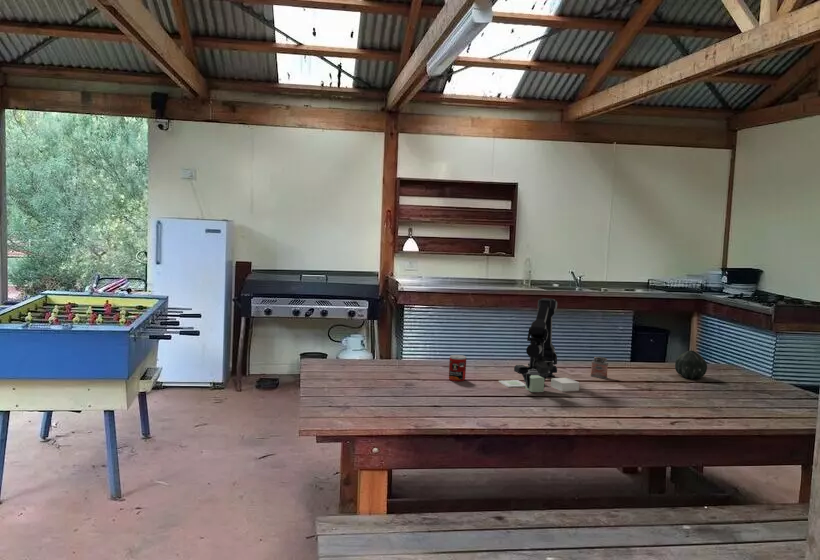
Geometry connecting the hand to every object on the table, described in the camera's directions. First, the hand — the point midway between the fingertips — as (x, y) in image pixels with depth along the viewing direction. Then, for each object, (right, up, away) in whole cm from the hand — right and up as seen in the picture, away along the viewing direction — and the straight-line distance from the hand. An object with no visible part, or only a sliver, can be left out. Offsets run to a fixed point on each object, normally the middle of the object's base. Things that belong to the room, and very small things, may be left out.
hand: (534, 387), depth 286 cm
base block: (+15, -2, +6) cm, 16 cm away
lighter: (+38, 0, +32) cm, 50 cm away
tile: (-8, 0, +9) cm, 12 cm away
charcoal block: (+2, 0, +14) cm, 14 cm away
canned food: (-34, +1, +14) cm, 36 cm away
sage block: (0, -1, 0) cm, 1 cm away
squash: (+87, -2, +40) cm, 96 cm away
